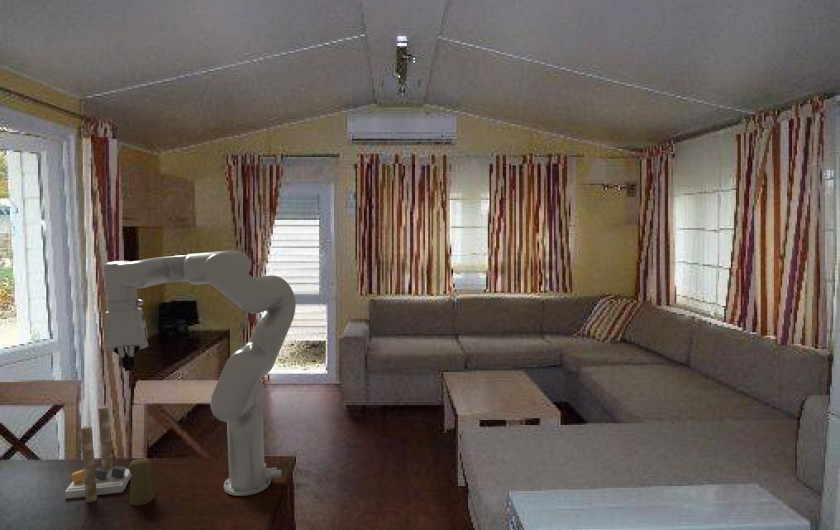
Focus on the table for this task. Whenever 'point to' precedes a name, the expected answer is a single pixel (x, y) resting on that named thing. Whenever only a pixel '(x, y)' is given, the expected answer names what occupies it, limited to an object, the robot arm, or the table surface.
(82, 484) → the panel
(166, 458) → the table surface
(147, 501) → the cork
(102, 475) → the grey block
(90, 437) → the post near
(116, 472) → the grey block
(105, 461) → the post far
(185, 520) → the table surface
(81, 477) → the orange block
